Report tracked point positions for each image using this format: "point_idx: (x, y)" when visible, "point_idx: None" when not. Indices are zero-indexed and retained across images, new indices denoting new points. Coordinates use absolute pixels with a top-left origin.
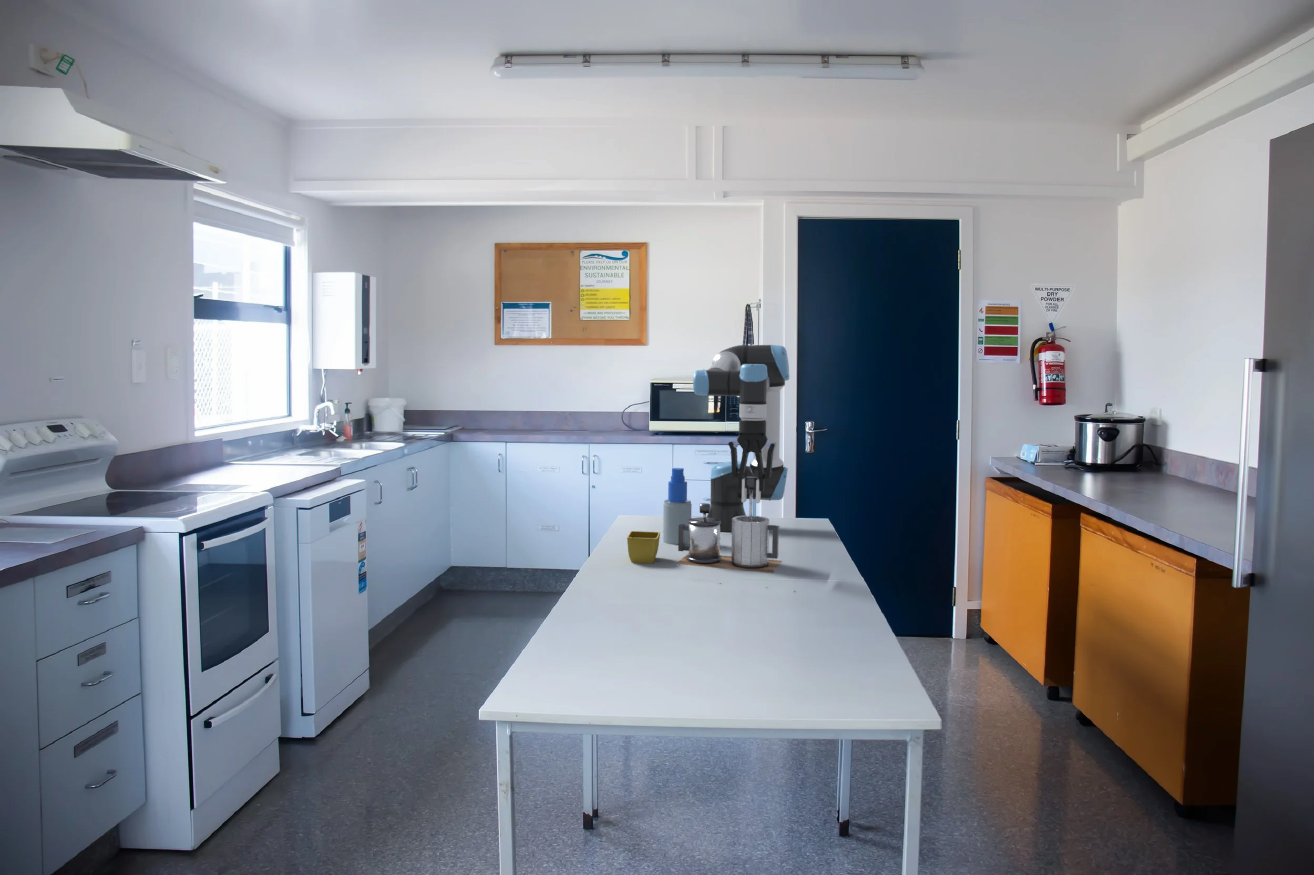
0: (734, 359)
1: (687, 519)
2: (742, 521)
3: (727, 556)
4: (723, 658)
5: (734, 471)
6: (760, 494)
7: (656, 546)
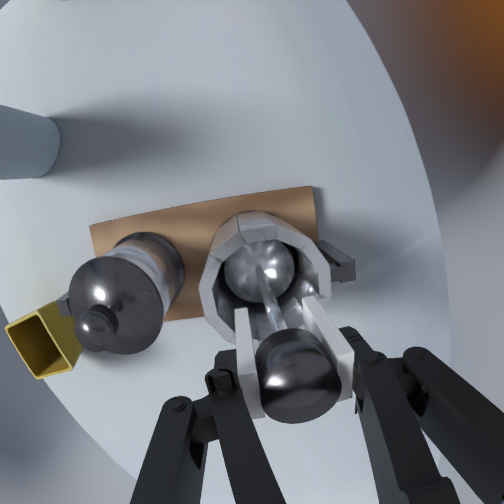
0: None
1: (18, 146)
2: (256, 341)
3: (177, 212)
4: (328, 498)
5: (195, 457)
6: (324, 311)
7: (77, 357)
